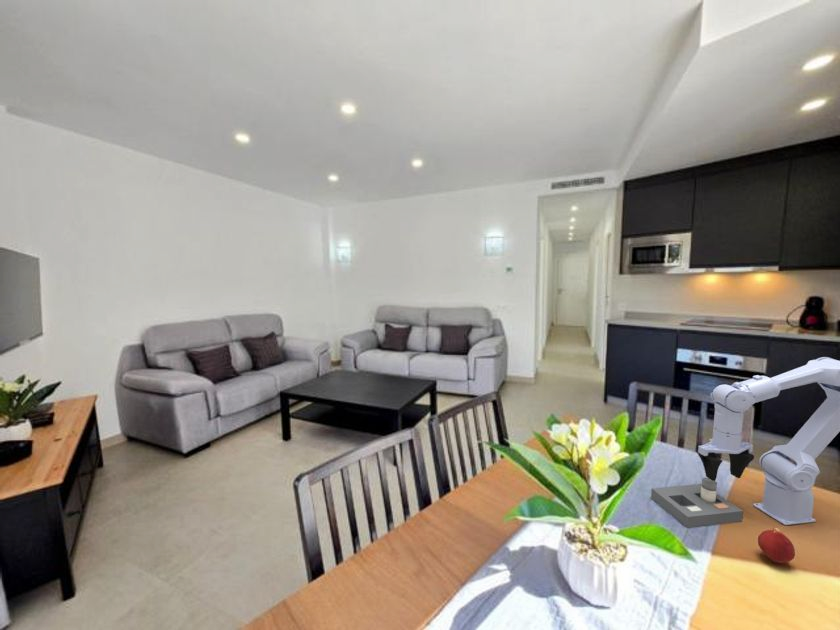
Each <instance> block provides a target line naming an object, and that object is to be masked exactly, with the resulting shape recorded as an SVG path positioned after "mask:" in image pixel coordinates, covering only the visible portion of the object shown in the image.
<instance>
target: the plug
mask: <svg viewBox="0 0 840 630" xmlns="http://www.w3.org/2000/svg"><path fill="white" fill-rule="evenodd" d="M701 484H702V485H701V499H702V500H704V501H705V502H707V503H708V504H710V503H715V501H716V494H717V488H718V482H717V481H716V480H715V481H712V480H711V479H709V478H707V477H702V479H701Z"/></svg>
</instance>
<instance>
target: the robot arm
mask: <svg viewBox="0 0 840 630" xmlns="http://www.w3.org/2000/svg"><path fill="white" fill-rule="evenodd" d="M814 383H817V384H818V385H819V386H820V388H822V390H824V392H825V395H826V398H825V399H824V401H823V402H822V403H821V404H820V406H819V407H818V408H817V409H816V410H815V411H814V412H813V414H812V415H811V416H810V417H809V419H808V420H807V421H806V422H805V423H804V424H803V426H801V428H800V429H799V430H798V431H797V432H796V433H795V435H794V436H793V437H792V438H791V440H790V441H789V442H788V443H787V444H781V445H774V446H773V447H772V448H771V449H770V450H769V451H766V452H764V453H763V454H761V456H760V458H759V459H758V460H759V461H758V463H759V466H760V468H761V469H762V470H763V471H764V472H763V475H764V476H765V477H764V478H765V479H764V487H763V496H762V502H757V503H752V506H753V507H755V508H756V509H758V510H760V511H761V512H762V513H764V514H766V515H768V516H769V517H771V518H772V519H774V520H776V521H777V522H779V523H781V524H782V525H785V526H790V525H797V524H798V525H799V524H806V523H807V524H808V523H816V522H817V520H816V519H815V518H814V517H813V511H814V501H815V495H814V492H813V491H812V488H813V487H814V485H815V483H816V478H817V476H818V475H819V474H820V473H821V471H820V469H819V466H818V464H817V462H816V459H817V457H818V456H819V455H820V454H822V452H823V451H824V450H825V448H827V447H828V445H829V444H830V443H831V442H832V441H833V439H834V438H836V436H837V435H838V434H839V433H840V360H837V359H834V358H831V357H828V356H822V357H818V358H816V359H812V360H808V362H807V363H806V364H805V365H802V366H799V367H796V368H794V369H791V370H788V371H786V372H783V373H780V374H778V375H775V376H772V377H768V376H766V375H759V374H757V375H753V376H752V378H750V379H747V380H743V381H739V382H738V381H736V382H733V384H731V385H729V384H726V383H725V384H720V385H718V386H716V387H715V388H714V389H713V391H712V392H710V394H709V395H710V398H711V400H712V401H713V404H714V416H713V430H712V438H709V442H707V443H705V444H703V445H698V448H697V451H696V454H697V455H698V456H699V457H698V458H700V460H701V462H702V465H703V469H704V473H705V478H709V479H711V480H712V481H716V480H717V476H718V471H719V468H720V466H721V465H722V463H723V459H721V458H719V457H718V456H717V455H716V454H728V455H729V456H728V457H729V471H730V475H731V476H733V477H735V478H737V479H741V478H742V475H743V473H744V472H745V470H746V467H747V466H749V464H750V463H751V462H752V461H753V460H754V459H755V455H754V454H752V452H753V450H754V445H753V444H751V443H749V442H747V441H742V435H743V434H742V433H743V425H744V412H746V411H748V410H749V408H751V406H752V405H755V403H759V402H763V401H766V400H769V399H773V398H776V397H778V396H779V395H780V392H781V391H783V390H786V389H787V390H788V389H791V388H795V387H801V386H805V385H809V384H814ZM794 461H795V462H794Z"/></svg>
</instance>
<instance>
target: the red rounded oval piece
mask: <svg viewBox="0 0 840 630" xmlns="http://www.w3.org/2000/svg"><path fill="white" fill-rule="evenodd" d="M757 544H758V547H759V549H760V550H761V551H762V553H764V554H765V555H766V556H767V557H768V559H769V560H771V561H772V562H774V563H779V564H780V563H781V564H786V563H789V562H792V560H794V558H795V557H796V556H795V555H796V551H795V546H794V544H793V542H792V541H791V540H790V538H788V537H787V536H786V535H785V534H784V533H783V532H782V531H781V530H780V529H779V528H777V527H772V529H767V530H764V531H762V532H761V533H760V534H759V535H758V538H757Z"/></svg>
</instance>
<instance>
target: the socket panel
mask: <svg viewBox="0 0 840 630" xmlns="http://www.w3.org/2000/svg"><path fill="white" fill-rule="evenodd" d="M701 485H702V483H695V484H694V483H693V484H684V485H683V484H682V485H675V486H674V485H673V486H664V487H654V488H653V487H652V488H651V493H650V499H652V501H654V502H655V503H657V504H658V506H660V507H662V508H663V510H665V511H666V512H667V513H669V514H670V515H671V516H672V517H673V518H674V519H676V520H677V521H679V522H680V523H681V524H682V525H683V526H684V527H686V528H687V529H690V528H695V527H698V528H699V527H705V526H713V525H721V524H722V525H723V524H733V523H739V522H743V514H744V510H742V509H741V508H739V507H738V506H737V505H735V504H733V503H732V502H730V501H728V500H727V499H725V497H723V496H720V494H717V493H716V501H715V503H710V504H708V503H707V502H705V501H704V500H702V499H701Z"/></svg>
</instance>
